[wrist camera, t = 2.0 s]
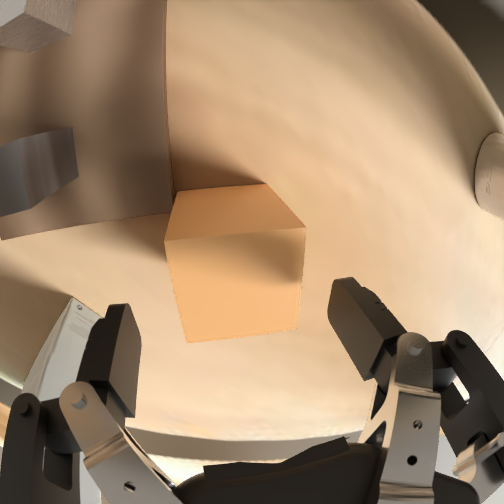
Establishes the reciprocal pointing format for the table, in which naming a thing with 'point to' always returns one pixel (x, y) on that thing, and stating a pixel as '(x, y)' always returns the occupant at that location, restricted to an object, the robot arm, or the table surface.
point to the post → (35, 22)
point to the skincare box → (65, 371)
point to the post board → (87, 122)
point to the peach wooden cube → (235, 262)
